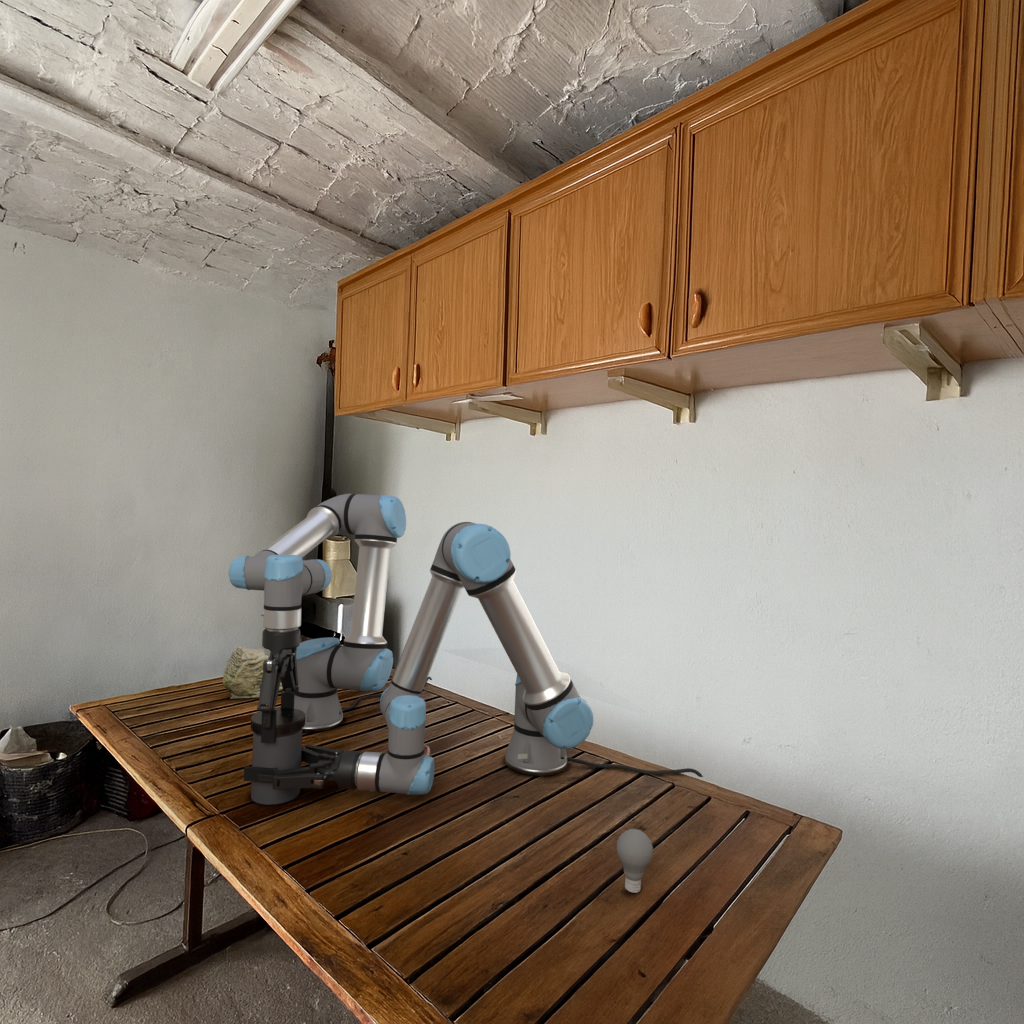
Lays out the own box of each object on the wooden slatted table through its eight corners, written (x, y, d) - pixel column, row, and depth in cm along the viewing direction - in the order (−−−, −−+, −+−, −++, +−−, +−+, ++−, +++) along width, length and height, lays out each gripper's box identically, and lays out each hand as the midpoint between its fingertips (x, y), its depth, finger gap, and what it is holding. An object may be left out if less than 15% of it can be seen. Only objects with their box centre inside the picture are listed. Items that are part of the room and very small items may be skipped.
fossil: (218, 695, 195) (220, 647, 195) (278, 685, 208) (279, 640, 207) (228, 703, 189) (230, 653, 188) (289, 692, 201) (290, 645, 201)
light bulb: (610, 879, 108) (613, 822, 108) (644, 879, 109) (647, 822, 109) (619, 902, 102) (622, 840, 102) (655, 901, 103) (658, 840, 103)
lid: (259, 717, 139) (259, 707, 139) (310, 717, 140) (310, 707, 140) (243, 735, 128) (243, 725, 128) (298, 735, 129) (299, 725, 129)
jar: (242, 803, 130) (245, 727, 129) (262, 782, 139) (265, 711, 139) (289, 806, 129) (292, 729, 129) (306, 784, 139) (309, 713, 139)
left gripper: (282, 617, 145) (278, 712, 145) (241, 639, 122) (237, 753, 122) (315, 618, 145) (311, 714, 146) (280, 641, 122) (276, 754, 123)
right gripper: (340, 814, 122) (229, 805, 123) (374, 766, 144) (279, 758, 146) (342, 775, 122) (230, 767, 123) (375, 733, 144) (280, 726, 146)
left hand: (277, 732), depth 134 cm, fingers closed on lid, 11 cm apart
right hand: (256, 762), depth 134 cm, fingers closed on jar, 10 cm apart
